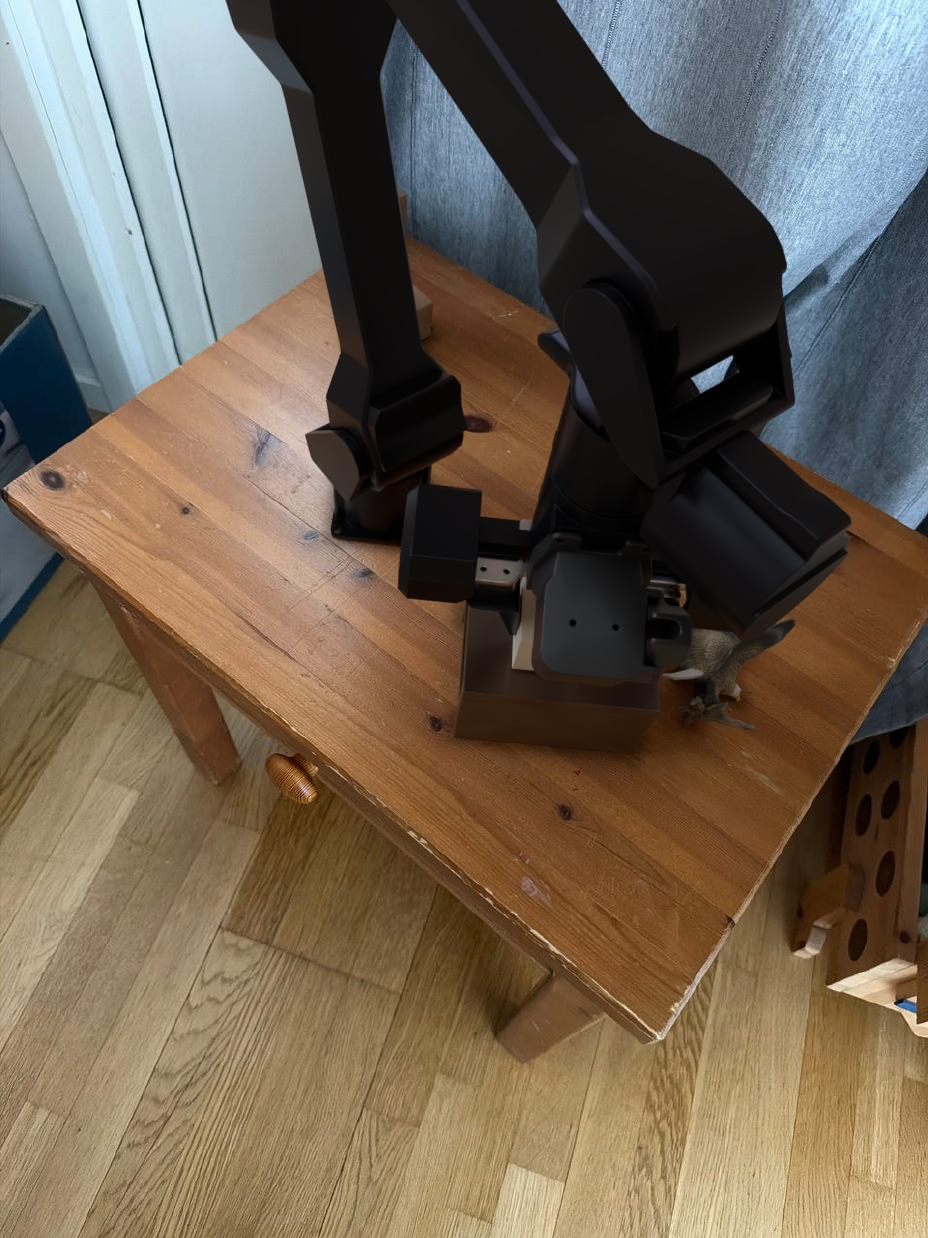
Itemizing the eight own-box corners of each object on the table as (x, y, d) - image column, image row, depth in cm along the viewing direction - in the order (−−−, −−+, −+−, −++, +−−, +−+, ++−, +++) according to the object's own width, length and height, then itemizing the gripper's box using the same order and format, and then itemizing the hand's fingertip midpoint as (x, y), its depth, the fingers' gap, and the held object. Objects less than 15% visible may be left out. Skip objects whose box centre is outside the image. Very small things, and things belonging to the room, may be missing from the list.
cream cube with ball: (511, 668, 54) (529, 611, 48) (514, 606, 57) (531, 544, 51) (583, 676, 55) (609, 619, 49) (583, 613, 57) (608, 553, 51)
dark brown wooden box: (453, 737, 60) (462, 692, 54) (462, 608, 65) (472, 554, 59) (630, 754, 60) (660, 711, 54) (626, 625, 65) (653, 573, 59)
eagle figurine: (769, 757, 60) (811, 642, 63) (741, 709, 55) (788, 586, 57) (665, 730, 64) (708, 624, 67) (631, 684, 59) (679, 572, 62)
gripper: (389, 596, 37) (383, 740, 50) (833, 642, 38) (710, 772, 51) (414, 396, 42) (403, 574, 56) (800, 440, 43) (697, 605, 57)
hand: (550, 632), depth 55 cm, fingers closed on cream cube with ball, 4 cm apart
